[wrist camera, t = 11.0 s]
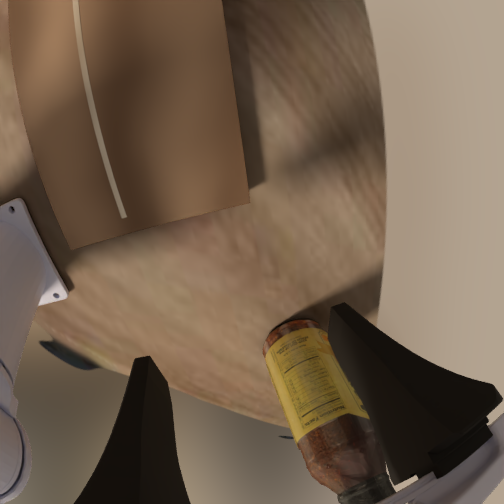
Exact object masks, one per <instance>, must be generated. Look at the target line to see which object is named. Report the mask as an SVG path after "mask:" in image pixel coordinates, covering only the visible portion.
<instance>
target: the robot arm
mask: <svg viewBox="0 0 504 504" xmlns="http://www.w3.org/2000/svg"><path fill="white" fill-rule="evenodd" d="M11 206H12V207H14V209H15V211H13V210H12V209H11ZM55 293H57V294H59V295H57V294H55ZM68 294H69V291H68V289H67V287H66V286H65V284H64V282H63V280H62V279H61V277H60V275H59V273H58V271H57V270H56V268H55V266H54V264H53V262H52V260H51V258H50V256H49V255H48V253H47V251H46V249H45V247H44V245H43V243H42V240H41V238H40V236H39V234H38V232H37V230H36V228H35V225H34V223H33V221H32V219H31V216H30V214H29V212H28V209H27V207H26V205H25V202H24V201H23V200H22V199H21V198H16V199H14V200H11V201H9V202H7V203H5V204H3V205H1V206H0V504H4V503H5V502H7V501H10V500H12V499H14V498H16V497H17V496H18V495H19V494H20V493H21V492H22V490H23V489H24V488H25V486H26V484H27V482H28V479H29V476H30V472H31V464H32V455H31V447H30V442H29V439H28V436H27V434H26V431H25V429H24V427H23V426H22V425H21V423H20V422H19V421H18V419H17V418H16V412H17V406H18V400H17V399H16V398H15V397H14V395H13V387H14V382H15V378H16V373H17V370H18V366H19V363H20V359H21V355H22V352H23V349H24V345H25V342H26V339H27V336H28V333H29V330H30V327H31V324H32V321H33V318H34V315H35V313H36V310H37V307H38V306H39V305H43V304H47V303H51V302H55V301H59V300H63V299H66V298H67V297H68ZM327 339H328V341H329V343H330V346H331V348H332V350H333V352H334V355H335V357H336V359H337V361H338V363H339V364H340V366H341V368H342V369H343V371H344V373H345V374H346V376H347V378H348V379H349V381H350V383H351V384H352V386H353V388H354V390H355V391H356V393H357V395H358V396H359V398H360V400H361V401H362V403H363V405H364V407H365V409H366V412H367V414H368V416H369V418H370V421H371V423H372V425H373V428H374V430H375V433H376V435H377V438H378V441H379V443H380V446H381V449H382V452H383V455H384V458H385V461H386V464H387V468H388V471H389V474H390V479H391V480H392V482H393V484H394V485H397V484H399V483H401V482H403V481H405V480H407V479H409V478H411V477H413V476H414V475H417V477H418V480H417V481H415V482H414V483H412V484H410V485H409V486H407V487H405V488H404V489H402V490H400V491H398V492H396V493H395V494H393V495H391V496H389V497H387V498H385V499H383V500H381V501H379V502H377V503H375V504H405V503H407V502H408V504H482V503H483V502H484V501H485V499H486V498H487V497H488V496H489V495H490V494H491V493H492V492H493V490H494V489H495V488H496V487H497V486H498V484H499V483H500V482H501V481H502V479H503V478H504V413H503V414H502V415H500V416H499V417H498V418H497V419H496V420H495V421H494V422H493V423H492V424H490V425H488V426H487V423H488V422H489V420H488V418H487V417H486V416H487V415H488V414H489V413H490V412H491V411H492V410H494V409H495V408H496V407H497V406H498V405H499V404H500V403H501V402H502V400H503V398H502V396H501V395H500V394H499V392H498V391H497V389H496V388H495V386H494V385H493V384H490V383H485V382H482V381H478V380H474V379H471V378H467V377H465V376H462V375H459V374H456V373H454V372H451V371H449V370H446V369H444V368H442V367H439V366H437V365H435V364H433V363H431V362H429V361H427V360H426V359H424V358H422V357H420V356H418V355H416V354H415V353H413V352H411V351H410V350H408V349H407V348H405V347H404V346H402V345H401V344H399V343H398V342H396V341H394V340H393V339H392V338H390V337H389V336H387V335H386V334H385V333H383V332H382V331H380V330H379V329H378V328H377V327H375V326H374V325H373V324H371V323H370V322H369V321H368V320H366V319H365V318H364V317H362V316H361V315H360V314H359V313H357V312H356V311H355V310H354V309H352V308H351V307H350V306H349V305H347V304H346V303H345V302H344V303H341V304H338V305H335V306H333V307H331V311H330V321H329V330H328V338H327ZM74 504H191V503H190V501H189V498H188V495H187V492H186V488H185V485H184V481H183V478H182V474H181V470H180V467H179V462H178V457H177V450H176V441H175V431H174V421H173V410H172V402H171V397H170V392H169V387H168V382H167V381H166V379H165V378H164V376H163V375H162V373H161V372H160V370H159V369H158V367H157V366H156V364H155V363H154V361H153V360H152V358H151V357H150V356H145V357H140V358H135V360H134V362H133V366H132V370H131V373H130V377H129V381H128V384H127V387H126V391H125V394H124V397H123V401H122V404H121V407H120V410H119V413H118V416H117V419H116V422H115V424H114V427H113V430H112V433H111V435H110V438H109V441H108V443H107V445H106V447H105V450H104V452H103V454H102V456H101V459H100V460H99V463H98V465H97V467H96V468H95V471H94V472H93V474H92V476H91V478H90V479H89V481H88V483H87V484H86V486H85V488H84V489H83V491H82V493H81V495H80V496H79V497H78V498H77V500H76V501H75V503H74Z"/></svg>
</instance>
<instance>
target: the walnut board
mask: <svg viewBox="0 0 504 504" xmlns="http://www.w3.org/2000/svg"><path fill="white" fill-rule="evenodd" d="M8 13H9V33H10V45H11V55H12V63H13V70H14V76H15V82H16V88H17V93H18V98H19V103H20V107H21V112H22V116H23V120H24V124H25V128H26V132H27V136H28V139H29V143H30V146H31V150H32V153H33V156H34V159H35V162H36V165H37V168H38V171H39V174H40V177H41V180H42V183H43V186H44V188H45V191H46V194H47V196H48V199H49V201H50V204H51V206H52V209H53V211H54V214H55V216H56V219H57V221H58V223H59V226H60V228H61V230H62V232H63V235H64V237H65V239H66V241H67V243H68V245H69V247H70V250H74V249H77V248H80V247H84V246H87V245H90V244H94V243H97V242H100V241H104V240H107V239H111V238H114V237H118V236H121V235H125V234H128V233H132V232H136V231H139V230H143V229H147V228H150V227H154V226H158V225H162V224H165V223H169V222H173V221H177V220H181V219H185V218H189V217H193V216H197V215H201V214H205V213H209V212H213V211H218V210H222V209H226V208H230V207H235V206H239V205H244V204H248V203H250V197H249V189H248V182H247V175H246V167H245V160H244V153H243V146H242V138H241V131H240V124H239V117H238V110H237V103H236V96H235V89H234V81H233V74H232V67H231V60H230V53H229V46H228V40H227V33H226V26H225V19H224V12H223V5H222V0H8Z"/></svg>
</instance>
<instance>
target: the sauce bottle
mask: <svg viewBox="0 0 504 504" xmlns="http://www.w3.org/2000/svg"><path fill="white" fill-rule="evenodd" d="M327 338H328V334H327V333H326V332H325V331H323V330H322V328H321V327H320V325H319V324H318V323H317V322H315V321H313V320H310V319H307V320H294V321H291V322H288V323H285V324H283V325H281V326H280V327H277V328H276V329H275V330H274V331H272V332H271V333H269V336H268V337H267V339H266V341H265V343H264V347H263V355H264V357H265V360H266V363H267V364H266V366H267V368H268V371H269V374H270V377H271V380H272V382H273V385H274V388H275V390H276V393H277V395H278V398H279V401H280V403H281V406H282V408H283V411H284V414H285V416H286V419H287V421H288V424H289V427H290V429H291V432H292V434H293V437H294V439H295V442H296V444H297V447H298V448H299V450H301V452H302V455H303V458H304V459H305V462H306V466H307V469H308V470H309V472H310V474H311V476H312V477H313V478H314V479H316V480H317V481H318V482H319V483H320V484H321V485H324V486H326V487H328V488H329V489H331V490H332V491H333V492H335V493H336V494H337V495H338V501H339V503H341V504H375V503H377V502H379V501H381V500H383V499H385V498H387V497H389V496H391V495H393V494H395V493H396V491H395V490H394V488H393V487H392V484H391V482H390V480H389V475H388V474H387V472H386V463H385V458H384V455H383V452H382V449H381V446H380V443H379V441H378V438H377V435H376V433H375V430H374V428H373V425H372V423H371V421H370V418H369V416H368V414H367V412H366V409H365V407H364V405H363V403H362V401H361V400H360V398H359V396H358V395H357V393H356V391H355V390H354V388H353V386H352V384H351V383H350V381H349V379H348V378H347V376H346V374H345V373H344V371H343V369H342V368H341V366H340V364H339V363H338V361H337V359H336V357H335V355H334V352H333V350H332V348H331V346H330V343H329V341H328V339H327Z"/></svg>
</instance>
